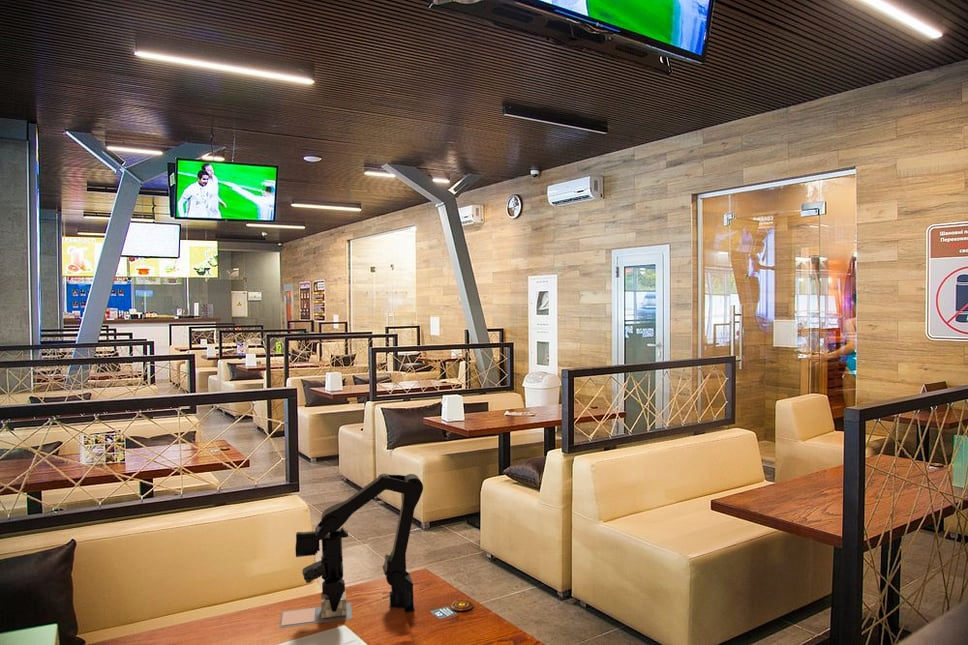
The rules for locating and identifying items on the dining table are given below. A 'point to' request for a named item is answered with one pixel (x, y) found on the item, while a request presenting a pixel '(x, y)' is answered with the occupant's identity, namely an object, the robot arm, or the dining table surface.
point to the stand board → (309, 616)
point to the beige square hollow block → (327, 607)
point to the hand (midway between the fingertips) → (333, 606)
